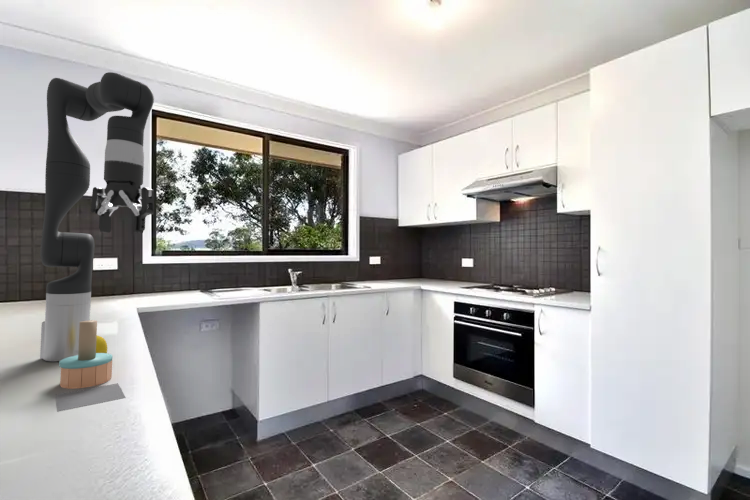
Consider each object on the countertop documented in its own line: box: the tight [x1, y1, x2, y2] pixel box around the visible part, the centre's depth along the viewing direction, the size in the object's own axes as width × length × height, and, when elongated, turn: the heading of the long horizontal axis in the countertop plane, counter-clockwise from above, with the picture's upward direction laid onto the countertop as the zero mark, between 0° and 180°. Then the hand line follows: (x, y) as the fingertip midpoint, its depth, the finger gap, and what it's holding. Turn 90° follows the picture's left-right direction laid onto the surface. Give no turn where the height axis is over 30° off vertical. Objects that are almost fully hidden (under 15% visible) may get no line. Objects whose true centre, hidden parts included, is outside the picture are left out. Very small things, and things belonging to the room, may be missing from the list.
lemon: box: [96, 335, 108, 353], centre depth 89 cm, size 6×6×8 cm
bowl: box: [59, 360, 113, 390], centre depth 78 cm, size 9×9×4 cm
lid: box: [58, 319, 113, 369], centre depth 78 cm, size 9×9×9 cm
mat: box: [55, 383, 126, 413], centre depth 70 cm, size 10×10×1 cm
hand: (121, 232), depth 84 cm, fingers open, 8 cm apart
